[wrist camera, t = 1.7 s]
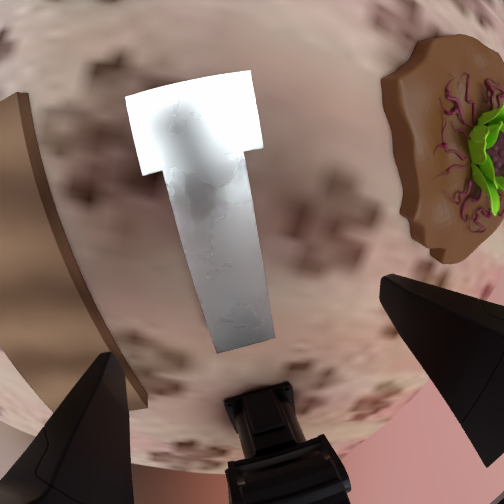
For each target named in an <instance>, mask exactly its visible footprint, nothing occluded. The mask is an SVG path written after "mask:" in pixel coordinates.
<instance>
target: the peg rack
mask: <svg viewBox="0 0 504 504" xmlns="http://www.w3.org/2000/svg"><path fill="white" fill-rule="evenodd" d="M0 347H1V348H2V350H3V351H4V352H5V354H6V355H7V357H8V358H9V360H10V361H11V362H12V364H13V365H14V366H15V368H16V369H17V370H18V372H19V373H20V374H21V376H22V377H23V378H24V379H25V381H26V382H27V383H28V384H29V385H30V387H31V388H32V389H33V390H34V392H35V393H36V394H37V395H38V396H39V397H40V398H41V400H42V401H43V402H44V403H45V404H46V405H47V406H48V407H49V409H50V410H51V411H52V412H53V413H54V412H55V410H56V409H57V408H58V406H59V405H60V404H61V402H62V401H63V400H64V398H65V397H66V396H67V395H68V393H69V392H70V391H71V389H72V388H73V387H74V385H75V384H76V383H77V382H78V380H79V379H80V378H81V377H82V375H83V374H84V373H85V371H86V370H87V369H88V368H89V366H90V365H91V364H92V363H93V361H94V360H95V359H96V358H97V356H98V355H99V354H100V353H103V352H109V351H111V352H113V353H114V354H115V356H116V358H117V359H118V361H119V363H120V364H121V366H122V367H123V369H124V372H125V379H126V390H127V399H128V408H129V411H130V410H138V409H144V408H148V395H147V393H146V392H145V390H144V389H143V387H142V386H141V384H140V383H139V381H138V380H137V378H136V376H135V375H134V373H133V372H132V370H131V368H130V367H129V365H128V363H127V362H126V360H125V358H124V357H123V355H122V353H121V352H120V350H119V348H118V346H117V345H116V343H115V341H114V339H113V338H112V336H111V334H110V332H109V330H108V328H107V327H106V325H105V323H104V321H103V319H102V317H101V315H100V313H99V311H98V309H97V307H96V305H95V303H94V301H93V299H92V297H91V295H90V293H89V291H88V289H87V286H86V284H85V282H84V280H83V278H82V275H81V273H80V271H79V268H78V266H77V264H76V261H75V259H74V257H73V254H72V252H71V249H70V247H69V244H68V242H67V239H66V236H65V234H64V231H63V228H62V226H61V223H60V220H59V217H58V214H57V211H56V208H55V205H54V202H53V199H52V196H51V193H50V189H49V186H48V183H47V179H46V176H45V172H44V168H43V165H42V161H41V157H40V153H39V149H38V144H37V140H36V135H35V131H34V126H33V120H32V115H31V109H30V103H29V97H28V93H20V92H16V93H14V94H13V95H11V96H9V97H7V98H6V99H4V100H2V101H1V102H0Z"/></svg>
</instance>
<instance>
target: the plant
mask: <svg viewBox="0 0 504 504" xmlns="http://www.w3.org/2000/svg"><path fill="white" fill-rule="evenodd" d="M381 87H382V100H383V108H384V112H385V114H386V117H387V119H388V122H389V125H390V128H391V132H392V138H393V153H394V158H395V162H396V165H397V168H398V171H399V175H400V178H401V182H402V186H403V199H402V205H401V209H400V214H401V215H402V216H404V217H406V218H407V219H408V220H409V222H410V232H411V237H412V238H413V239H414V240H416V241H417V242H419V243H420V244H422V245H423V246H425V247H426V248H430V255H431V256H432V257H434V258H435V259H436V260H438V261H439V262H440V263H442V264H455V263H458V262H461V261H463V260H464V259H466V258H467V257H468V256H469V255H470V254H471V253H472V252H473V251H474V250H475V249H476V248H477V247H478V246H479V245H480V244H481V243H482V242H484V241H485V240H486V239H487V238H488V237H489V236H490V235H491V234H492V233H493V232H494V231H495V230H496V229H497V228H498V226H499V225H500V223H501V222H502V220H503V218H504V62H503V60H502V58H501V56H500V55H499V53H498V52H495V51H494V50H492V49H490V48H488V47H487V46H485V45H484V44H482V43H481V42H480V41H478V40H477V39H475V38H473V37H470V36H467V35H463V34H456V35H447V36H441V37H437V38H431V39H426V40H422V41H419V42H418V43H417V44H416V46H415V48H414V51H413V53H412V56H411V57H410V59H409V60H408V61H407V62H406V63H405V64H404V65H402V66H401V67H400V68H399V69H397V70H396V71H395V72H393V73H391V74H390V75H387V76H385V77H383V78H382V79H381Z"/></svg>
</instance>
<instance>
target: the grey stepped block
mask: <svg viewBox="0 0 504 504" xmlns="http://www.w3.org/2000/svg"><path fill="white" fill-rule="evenodd" d="M125 100H126V105H127V110H128V115H129V119H130V124H131V129H132V133H133V138H134V142H135V146H136V151H137V155H138V159H139V163H140V167H141V171H142V175H143V176H144V175H147V174H151V173H155V172H158V171H162V170H163V174H164V178H165V182H166V186H167V190H168V194H169V198H170V202H171V206H172V210H173V213H174V217H175V221H176V225H177V228H178V232H179V235H180V239H181V242H182V246H183V249H184V253H185V256H186V260H187V263H188V266H189V270H190V273H191V276H192V280H193V283H194V286H195V289H196V292H197V296H198V299H199V302H200V305H201V308H202V311H203V314H204V317H205V320H206V323H207V326H208V329H209V332H210V335H211V338H212V341H213V344H214V347H215V350H216V352H217V353H221V352H225V351H229V350H233V349H237V348H240V347H244V346H248V345H251V344H255V343H259V342H262V341H266V340H269V339H273V338H275V333H274V327H273V321H272V315H271V308H270V302H269V296H268V290H267V284H266V278H265V272H264V266H263V260H262V254H261V249H260V243H259V237H258V231H257V225H256V219H255V213H254V208H253V202H252V196H251V190H250V184H249V179H248V173H247V167H246V162H245V156H244V151H249V150H254V149H260V148H263V142H262V136H261V130H260V124H259V118H258V112H257V106H256V100H255V95H254V89H253V83H252V78H251V72H250V70H249V71H241V72H234V73H227V74H221V75H215V76H209V77H204V78H199V79H194V80H189V81H184V82H180V83H175V84H171V85H167V86H163V87H159V88H155V89H151V90H147V91H144V92H140V93H137V94H133V95H130V96H127V97H125Z"/></svg>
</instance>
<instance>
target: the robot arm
mask: <svg viewBox="0 0 504 504" xmlns="http://www.w3.org/2000/svg"><path fill="white" fill-rule="evenodd" d="M379 299H380V302H381V304H382V306H383V308H384V309H385V311H386V313H387V314H388V316H389V318H390V319H391V321H392V323H393V325H394V326H395V328H396V330H397V331H398V333H399V335H400V336H401V338H402V339H403V341H404V342H405V343H406V345H407V346H408V348H409V349H410V350H411V352H412V353H413V354H414V356H415V357H416V359H417V360H418V362H419V363H420V364H421V366H422V367H423V369H424V370H425V372H426V373H427V374H428V376H429V377H430V379H431V380H432V382H433V383H434V385H435V386H436V388H437V389H438V390H439V392H440V394H441V395H442V397H443V398H444V400H445V401H446V403H447V404H448V406H449V407H450V409H451V410H452V412H453V413H454V415H455V417H456V418H457V420H458V421H459V423H460V424H461V426H462V428H463V429H464V431H465V433H466V435H467V436H468V438H469V439H470V441H471V443H472V444H473V446H474V448H475V449H476V451H477V452H478V455H479V456H480V458H481V460H482V461H483V463H484V465H485V466H486V468H487V467H489V466H490V465H491V464H492V463H493V462H494V461H495V460H496V459H497V458H499V457H500V456H501V455H502V454H503V453H504V306H502V305H498V304H495V303H491V302H488V301H484V300H481V299H478V298H474V297H471V296H468V295H464V294H461V293H458V292H454V291H451V290H447V289H444V288H441V287H437V286H434V285H430V284H427V283H423V282H420V281H416V280H413V279H409V278H406V277H402V276H399V275H395V274H389V275H386V276H383V277H382V278H381V283H380V294H379ZM224 406H225V409H226V411H227V413H228V415H229V418H230V420H231V422H232V424H233V426H234V428H235V431H236V433H237V434H239V438H240V442H241V445H242V449H243V453H244V456H245V459H243V460H238V461H230V462H228V469H226V470H225V473H226V478H227V482H228V489H229V491H228V492H229V504H350V501H349V498H348V495H347V493H348V492H350V491H351V484H350V480H349V477H348V474H347V472H346V470H345V467H344V466H343V464H342V462H341V460H340V459H339V457H338V456H337V454H336V453H335V451H334V449H333V448H332V446H331V445H330V443H329V441H328V440H327V438H326V437H325V435H324V434H322V435H319V436H318V437H316V438H313V439H311V440H308V441H306V439H305V437H304V434H303V432H302V430H301V427H300V425H299V423H298V420H297V418H296V415H295V407H294V398H293V390H292V386H291V384H290V383H284V384H280V385H277V386H274V387H270V388H267V389H264V390H260V391H257V392H253V393H249V394H246V395H242V396H238V397H234V398H230V399H227V400H225V401H224ZM133 497H134V496H133V487H132V473H131V457H130V427H129V408H128V399H127V390H126V379H125V372H124V369H123V367H122V366H121V364H120V363H119V361H118V359H117V358H116V356H115V354H114V353H113V352H111V351H109V352H103V353H100V354H99V355H98V356H97V358H96V359H95V360H94V361H93V363H92V364H91V365H90V366H89V368H88V369H87V370H86V371H85V373H84V374H83V375H82V377H81V378H80V379H79V380H78V382H77V383H76V384H75V385H74V387H73V388H72V389H71V391H70V392H69V393H68V395H67V396H66V397H65V398H64V400H63V401H62V402H61V404H60V405H59V406H58V408H57V409H56V410H55V412H54V413H53V414H52V416H51V417H50V418H49V420H48V421H47V422H46V424H45V425H44V427H43V428H42V429H41V431H40V432H39V433H38V435H37V436H36V437H35V439H34V440H33V441H32V443H31V444H30V445H29V447H28V448H27V449H26V450H25V452H24V453H23V454H22V455H21V456H20V458H19V459H18V460H17V461H16V462H15V464H14V465H13V466H12V467H11V468H10V470H9V471H8V472H7V473H6V474H5V476H4V477H3V478H2V479H1V480H0V504H134V498H133ZM490 504H504V491H503V492H502V494H500V495H499V496H498V497H497V498H496V499H495V500H494V501H493V502H491V503H490Z"/></svg>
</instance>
